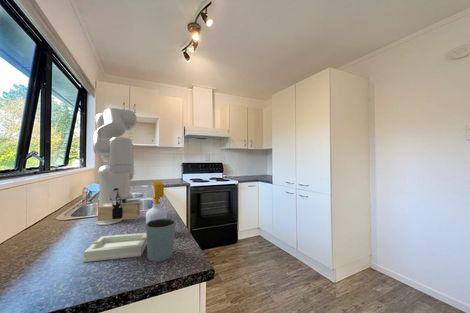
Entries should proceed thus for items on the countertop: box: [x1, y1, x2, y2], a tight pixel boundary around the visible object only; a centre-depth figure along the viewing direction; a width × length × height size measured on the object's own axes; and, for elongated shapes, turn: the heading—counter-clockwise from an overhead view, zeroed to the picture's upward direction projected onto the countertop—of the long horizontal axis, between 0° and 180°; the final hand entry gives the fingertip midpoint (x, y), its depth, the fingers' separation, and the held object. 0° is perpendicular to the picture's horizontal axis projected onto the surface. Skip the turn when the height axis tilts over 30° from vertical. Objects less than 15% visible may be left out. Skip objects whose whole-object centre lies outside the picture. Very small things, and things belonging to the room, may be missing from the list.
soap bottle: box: [145, 180, 168, 224], centre depth 91 cm, size 9×9×25 cm
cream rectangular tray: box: [82, 232, 147, 263], centre depth 76 cm, size 15×18×4 cm
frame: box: [97, 201, 141, 221], centre depth 76 cm, size 6×13×5 cm, turn 104°
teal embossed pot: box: [145, 217, 177, 263], centre depth 71 cm, size 10×10×12 cm
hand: (120, 215), depth 76 cm, fingers closed on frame, 6 cm apart
